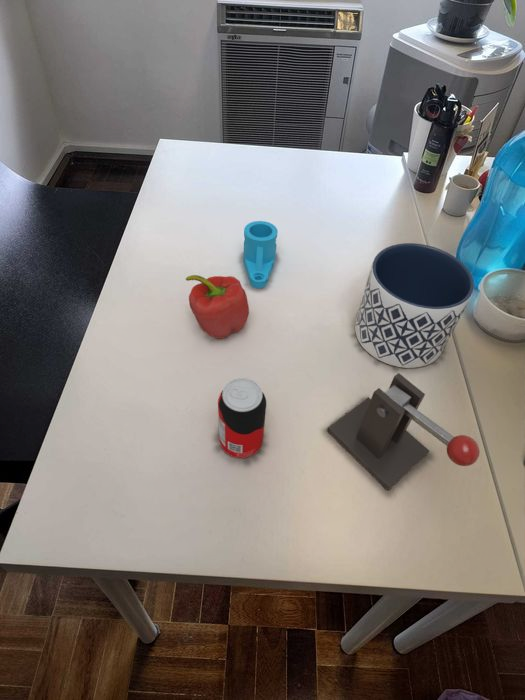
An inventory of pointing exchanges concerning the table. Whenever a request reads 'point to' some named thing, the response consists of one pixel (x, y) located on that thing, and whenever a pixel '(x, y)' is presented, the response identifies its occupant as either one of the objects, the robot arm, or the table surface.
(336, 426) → the grey lever stand
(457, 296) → the planter
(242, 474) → the table surface
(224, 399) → the beverage can
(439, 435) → the tap lever
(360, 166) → the table surface
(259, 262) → the bracket
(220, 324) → the vegetable
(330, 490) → the table surface
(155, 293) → the table surface
